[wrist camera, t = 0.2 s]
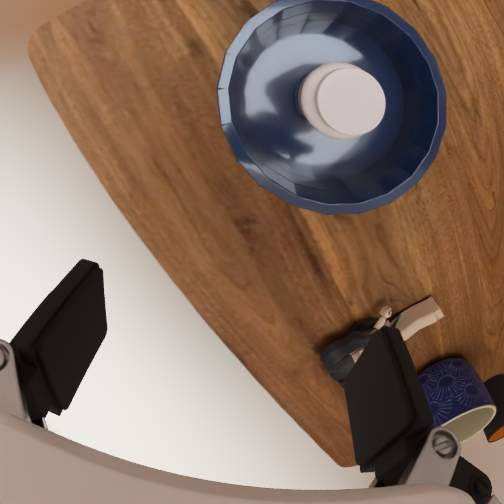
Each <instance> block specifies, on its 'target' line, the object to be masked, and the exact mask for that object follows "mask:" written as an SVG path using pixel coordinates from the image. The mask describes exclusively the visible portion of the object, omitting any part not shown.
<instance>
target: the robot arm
mask: <svg viewBox="0 0 504 504" xmlns="http://www.w3.org/2000/svg"><path fill="white" fill-rule="evenodd" d="M106 333H107V321H106V310H105V297H104V283H103V270H102V269H101V268H99V265H98V263H95V262H92V261H89V260H85V259H82V260H80V261H79V262H78V263H77V264H76V266H74V267H73V269H72V270H71V271H70V272H69V273H68V274H67V275H66V276H65V277H64V279H63V280H62V281H61V282H60V283H59V284H58V285H57V287H56V288H55V289H54V290H53V291H52V292H51V293H49V294H48V296H47V297H46V298H45V299H44V300H43V302H42V303H41V304H40V305H39V306H38V308H37V309H36V310H35V311H34V313H33V314H32V315H31V316H30V317H29V319H28V320H27V321H26V322H25V324H24V325H23V326H22V328H21V329H20V330H19V332H18V333H17V334H16V336H15V337H14V338H13V339H12V341H11V342H10V343H8V342H6V341H4V340H1V339H0V504H501V503H500V501H499V500H498V499H497V498H496V496H495V495H492V496H491V493H492V486H491V482H490V480H489V478H488V476H487V475H486V474H484V473H483V472H482V471H480V470H479V469H478V468H476V467H475V466H473V465H472V464H471V463H469V462H468V461H467V460H465V459H464V458H463V457H461V456H460V451H461V446H460V441H459V439H458V437H457V435H456V434H455V433H454V432H453V431H452V430H451V429H449V428H447V427H443V426H439V427H435V428H434V429H433V427H432V424H433V423H434V419H433V416H432V413H431V410H430V407H429V404H428V401H427V398H426V396H425V393H424V390H423V387H422V385H421V382H420V379H419V377H418V374H417V372H416V369H415V366H414V364H413V361H412V359H411V356H410V354H409V351H408V349H407V347H406V344H405V342H404V339H403V337H402V335H401V332H400V330H399V329H398V328H395V327H388V326H382V327H381V328H380V329H377V330H376V331H375V332H374V334H373V336H372V337H371V339H370V340H369V342H368V344H367V345H366V347H365V348H364V350H363V352H362V353H361V355H360V356H359V358H358V359H357V361H356V362H355V364H354V365H353V367H352V368H351V370H350V371H349V373H348V374H347V376H346V378H345V380H344V390H345V396H346V402H347V408H348V414H349V420H350V426H351V432H352V439H353V446H354V453H355V460H356V463H357V465H360V470H361V473H363V472H374V471H375V476H376V477H375V479H374V480H373V482H372V483H371V485H370V486H369V488H364V489H346V490H290V489H273V488H260V487H251V486H241V485H234V484H227V483H220V482H214V481H208V480H203V479H197V478H192V477H188V476H183V475H178V474H174V473H170V472H166V471H162V470H158V469H154V468H150V467H147V466H143V465H140V464H136V463H132V462H130V461H126V460H123V459H120V458H117V457H114V456H111V455H109V454H106V453H103V452H100V451H97V450H95V449H92V448H89V447H87V446H84V445H82V444H79V443H76V442H74V441H72V440H69V439H67V438H65V437H62V436H60V435H58V434H55V433H53V432H51V431H49V430H48V428H47V425H46V421H45V417H46V415H47V413H48V411H50V412H52V413H54V414H56V415H58V416H60V414H61V412H62V410H63V409H64V410H66V409H67V408H68V407H69V405H70V403H71V401H72V399H73V397H74V395H75V393H76V391H77V389H78V387H79V385H80V383H81V381H82V379H83V377H84V375H85V373H86V371H87V369H88V367H89V366H90V363H91V362H92V360H93V358H94V356H95V354H96V352H97V351H98V349H99V347H100V345H101V343H102V341H103V340H104V338H105V336H106Z"/></svg>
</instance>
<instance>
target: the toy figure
mask: <svg viewBox="0 0 504 504" xmlns="http://www.w3.org/2000/svg"><path fill="white" fill-rule="evenodd" d="M391 309H392V308H390V307H389V306H387V305H386V306H384V307H383V308H382V309H381V311H380V315H382V316H381V317H380V318H379V320H378V319H372V318H371V320H370V319H369V320H370V321H369V320H367V321H368V322H367V321H366V322H367V323H366V322H365V323H366V324H365V323H361V324H363V325H361V324H357V325H355V326H354V327H353V328H352V327H351V328H352V330H351V329H350V330H351V332H350V333H349V332H348V333H349V335H348V336H347V337H344V338H341V339H339V340H336V341H333V342H331V343H330V344H328V345H327V346H326V347H325V348H324V349H323V350H322V353H321V352H320V353H321V354H320V356H321V359H322V362H323V365H324V367H325V369H326V370H327V371H328V372H329V373H330V375H331V377H332V378H333V379H334V380H335V381H336V382H338V383H339V384H340V385H341V386H342V387H343V388H344V380H345V378H346V376H347V374H348V373H349V371H350V370H351V368H352V367H353V365H354V364H355V362H356V361H357V359H358V358H359V356H360V355H361V353H362V352H363V350H364V348H365V347H366V345H367V344H368V342H369V340H370V339H371V337H372V336H373V334H374V332H375V331H376V330H377V329H380V328H381V327H382V326H388V327H395V328H398V329H399V330H400V332H401V335H402V337H403V339H404V341H405V340H407V339H408V338H409V337H411V336H412V335H413V334H414V333H415V332H417V331H418V330H420V329H422V328H424V327H426V326H428V325H430V324H432V323H435V322H437V320H438V319H441V318H442V317H444V315H443V313H442V311H441V309H440V308H439V306H438V305H437V304H436V302H435V301H434V299H433V298H432V296H431V297H429V298H428V299H427V300H424V301H422V302H420V303H418V304H416V305H414V306H412V307H410V308H408V309H407V310H405V311H404V312H402V313H400V315H399V316H398V317H396V318H395V319H394V320H393V321H392V322H391V323H390V322H389V321H388V320H387V321H386V319H385V318H389V317H390V316H391V313H392V312H391ZM437 318H438V319H437ZM365 320H366V319H365ZM375 321H377V323H376V324H375V325H374V327H373V328H371V329H369V330H366V331H360V330H363V329H366V328H369V327H370V325H371V324H373V323H374V322H375ZM385 321H386V322H385ZM362 322H363V321H362ZM358 323H359V322H358ZM355 324H356V323H355ZM329 342H330V341H329ZM325 345H326V344H325ZM321 359H320V361H321Z"/></svg>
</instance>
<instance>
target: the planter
mask: <svg viewBox="0 0 504 504" xmlns="http://www.w3.org/2000/svg"><path fill="white" fill-rule="evenodd" d="M418 377H419V379H420V382H421V385H422V387H423V390H424V393H425V396H426V398H427V401H428V404H429V407H430V410H431V413H432V416H433V419H434V423H433V424H432V427H433V429H434V428H435V427H439V426H443V427H447V428H449V429H451V430H452V431H453V432H454V433H455V434H456V435H457V437H458V439H459V441H460V444H462V443H463V442H465V441H467V440H469V439H470V438H472V437H473V436H475V435H476V434H478V433H479V432H480V431H481V430H483V429H484V428H485V427H486V426H487V425H488V424H489V423H490V422H491V420H492V419H493V417H494V416H495V414H496V406H495V404H494V402H493V401H492V399H491V397H490V395H489V393H488V391H487V389H486V387H485V385H484V383H483V382H482V380H481V378H480V377H479V375H478V373H477V372H476V370H475V369H474V368H473V366H472V365H471V364H470V363H469V362H468V361H466V360H465V359H462V358H448V359H444V360H441V361H439V362H436V363H434V364H432V365H431V366H429V367H428V368H426V369H425V370H424V371H422V372H421V373H420V374H419V375H418Z"/></svg>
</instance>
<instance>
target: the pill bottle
mask: <svg viewBox="0 0 504 504" xmlns="http://www.w3.org/2000/svg"><path fill="white" fill-rule="evenodd" d="M295 105H296V108H297V110H298V112H299V114H300V116H301V117H302V118H303V120H304V121H305V122H307V123H308V124H309V125H310V126H312V127H313V128H315V129H316V130H317V131H319V132H320V133H322V134H323V135H325V136H327V137H330V138H333V139H338V140H349V139H354V138H357V137H360V136H362V135H363V134H365V133H368V132H370V131H371V130H373V129H374V128H375V127H376V126H377V125H378V124H379V123H380V121H381V120H382V118H383V115H384V112H385V107H386V102H385V95H384V92H383V90H382V88H381V86H380V84H379V83H378V82H377V80H376V79H375V78H374V77H373V76H371V75H370V74H369V73H367V72H365V71H364V70H362V69H361V68H359V67H357V66H355V65H352V64H349V63H344V62H332V63H327V64H324V65H322V66H319V67H318V68H316V69H314V70H313V71H311V72H310V73H308V74H307V75H305V76H304V77H303V78H302V79H301V81H300V82H299V84H298V86H297V88H296V91H295Z"/></svg>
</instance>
